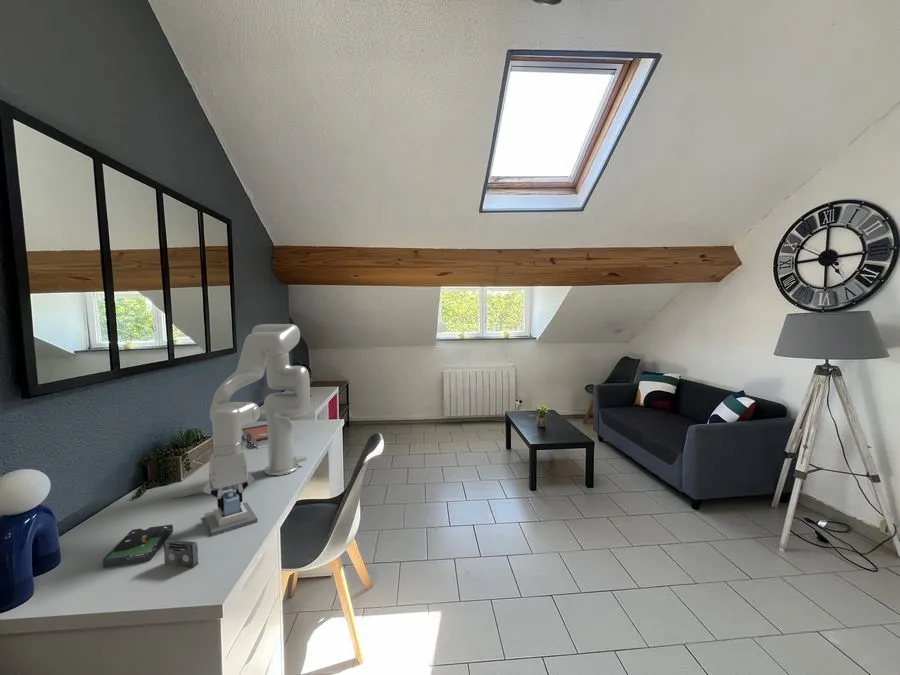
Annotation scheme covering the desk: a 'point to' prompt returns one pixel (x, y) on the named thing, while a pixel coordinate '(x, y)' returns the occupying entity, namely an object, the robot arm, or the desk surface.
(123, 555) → the disk drive
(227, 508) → the servo block
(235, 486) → the caliper
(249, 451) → the desk surface
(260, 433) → the book
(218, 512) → the plate
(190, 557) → the mini dv tape
